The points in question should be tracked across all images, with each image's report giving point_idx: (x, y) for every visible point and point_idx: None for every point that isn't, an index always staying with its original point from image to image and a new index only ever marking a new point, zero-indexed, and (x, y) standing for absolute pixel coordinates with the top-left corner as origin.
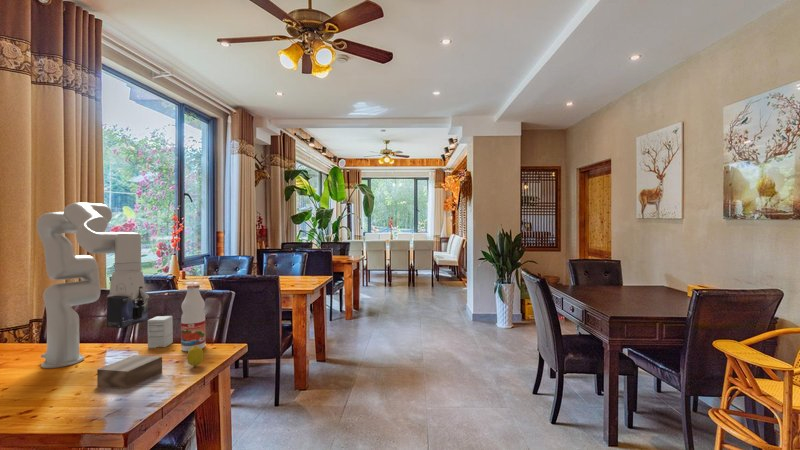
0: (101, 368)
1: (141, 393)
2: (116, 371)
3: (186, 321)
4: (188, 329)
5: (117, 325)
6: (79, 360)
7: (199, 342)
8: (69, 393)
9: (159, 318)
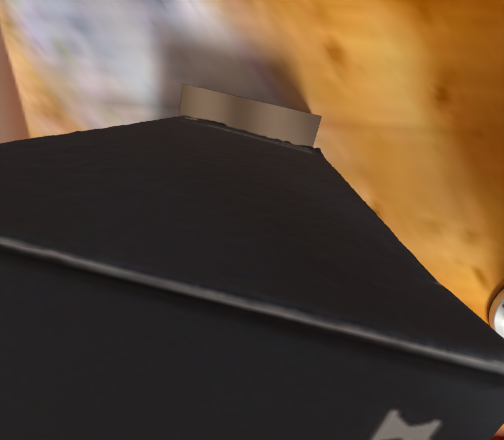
0: (311, 125)
1: (123, 43)
2: (233, 95)
3: None
4: None
5: (205, 121)
6: (494, 307)
7: None
8: (366, 57)
9: None
